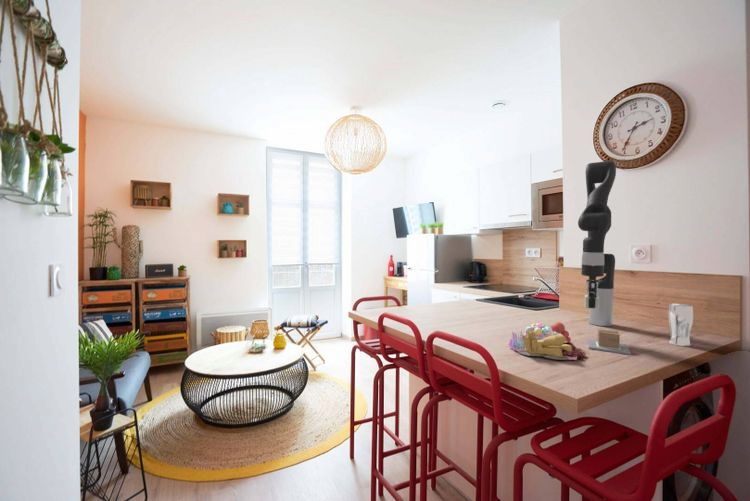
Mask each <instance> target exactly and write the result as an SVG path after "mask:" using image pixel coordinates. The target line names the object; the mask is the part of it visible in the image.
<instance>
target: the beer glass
mask: <svg viewBox="0 0 750 501" xmlns="http://www.w3.org/2000/svg"><path fill="white" fill-rule="evenodd" d="M668 307H669V308H668V322H669V323H668V324H669V329H670V336H669V337H670V338H669V341H668V342H669V344H671V345H675V346H680V347H691V340H690V334H691V330H692V327H693V323H694V309H693V308H694V307H693V305H691V304H686V303H673V302H672V303H669V306H668Z"/></svg>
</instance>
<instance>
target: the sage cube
mask: <svg viewBox="0 0 750 501" xmlns="http://www.w3.org/2000/svg"><path fill="white" fill-rule="evenodd" d="M584 309H599V297H598V296H597V297H596V299H595V308H589V297H588V294H584Z"/></svg>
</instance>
